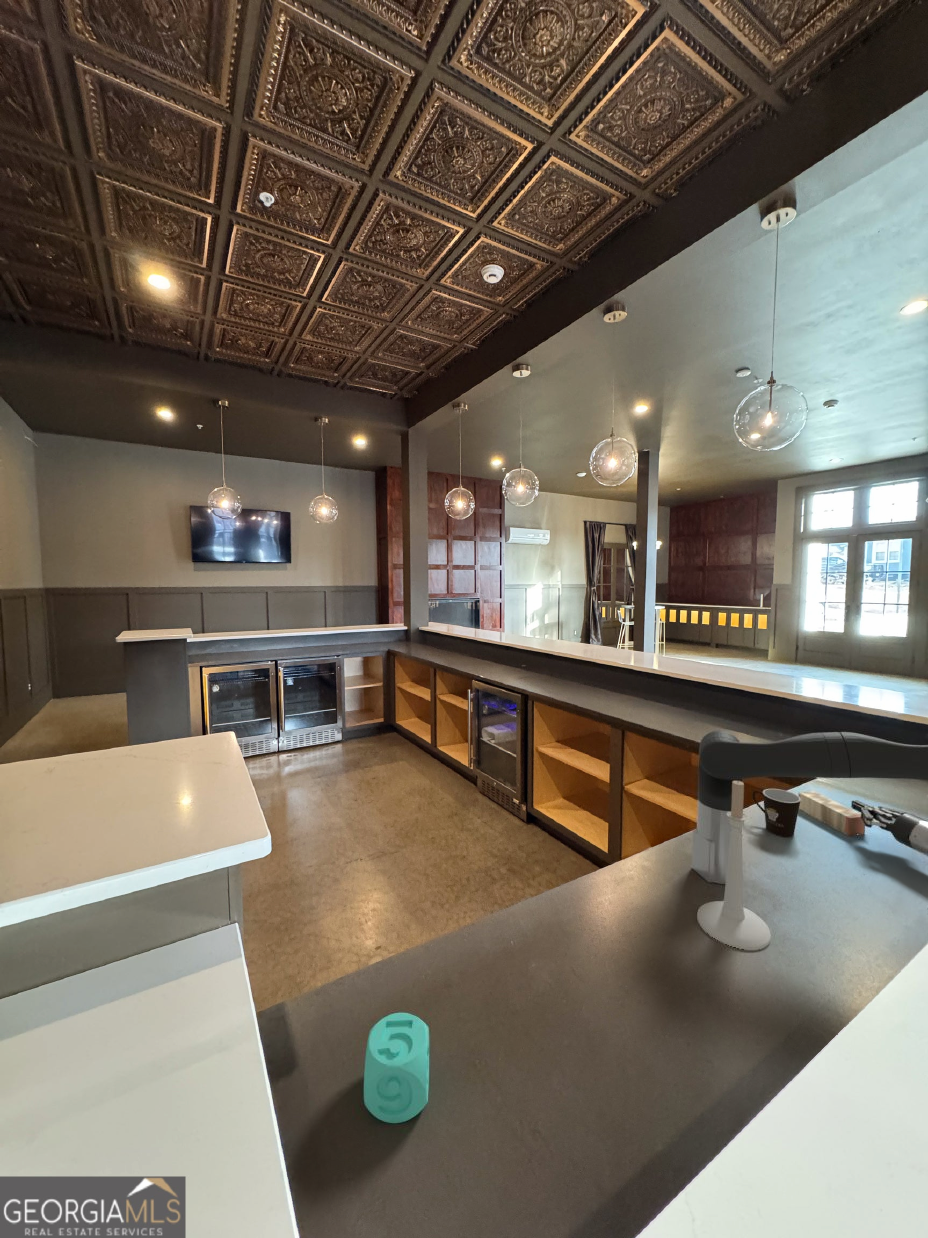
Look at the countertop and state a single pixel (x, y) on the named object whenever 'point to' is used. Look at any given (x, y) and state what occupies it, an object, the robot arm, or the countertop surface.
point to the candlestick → (734, 893)
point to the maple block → (832, 813)
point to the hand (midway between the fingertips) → (853, 803)
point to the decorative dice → (397, 1068)
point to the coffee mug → (779, 811)
